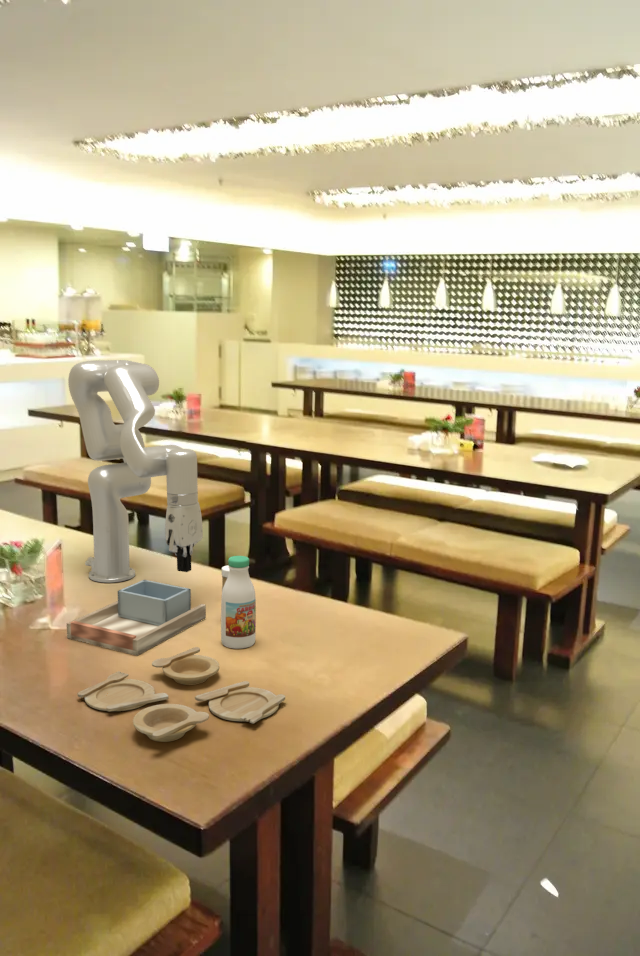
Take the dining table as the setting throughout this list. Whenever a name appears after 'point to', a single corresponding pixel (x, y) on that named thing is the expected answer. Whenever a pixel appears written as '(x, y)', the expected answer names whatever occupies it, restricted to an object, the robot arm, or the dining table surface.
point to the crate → (153, 602)
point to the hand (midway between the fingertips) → (184, 570)
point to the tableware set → (176, 718)
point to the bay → (128, 629)
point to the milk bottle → (238, 606)
